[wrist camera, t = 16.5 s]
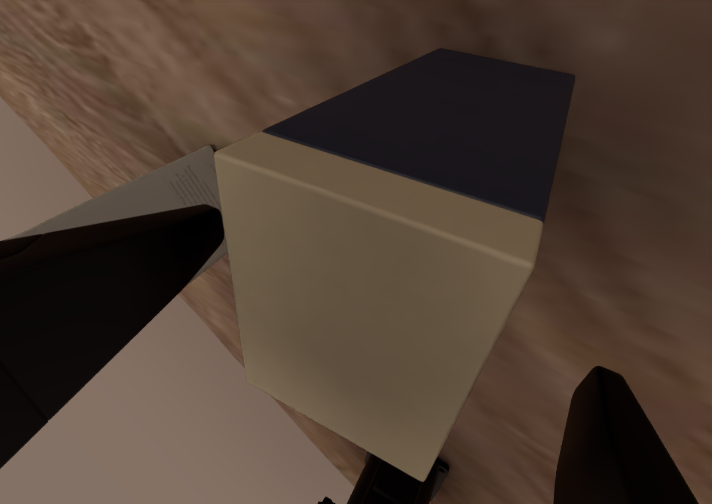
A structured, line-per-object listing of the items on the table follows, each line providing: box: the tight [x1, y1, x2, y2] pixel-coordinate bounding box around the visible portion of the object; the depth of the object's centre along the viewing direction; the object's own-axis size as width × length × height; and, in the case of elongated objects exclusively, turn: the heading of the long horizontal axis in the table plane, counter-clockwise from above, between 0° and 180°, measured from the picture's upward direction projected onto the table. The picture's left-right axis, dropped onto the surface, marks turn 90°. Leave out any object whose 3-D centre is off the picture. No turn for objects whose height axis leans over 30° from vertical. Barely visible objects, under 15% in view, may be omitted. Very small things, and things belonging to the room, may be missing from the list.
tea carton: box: [214, 48, 575, 482], centre depth 12 cm, size 12×5×6 cm
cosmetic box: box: [6, 145, 228, 285], centre depth 21 cm, size 6×4×12 cm
